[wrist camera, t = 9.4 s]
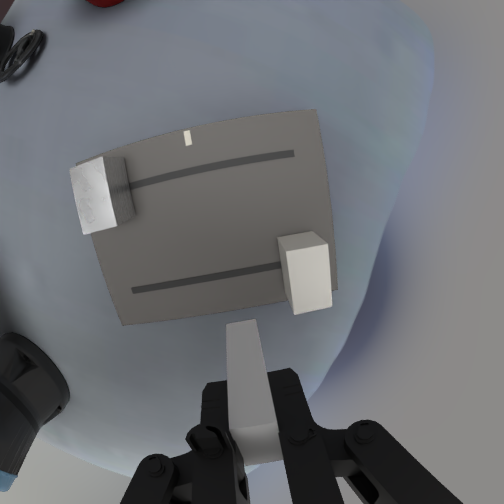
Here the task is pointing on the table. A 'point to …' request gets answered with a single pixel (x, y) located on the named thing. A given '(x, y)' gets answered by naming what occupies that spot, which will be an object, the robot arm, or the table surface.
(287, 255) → the fader
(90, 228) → the fader
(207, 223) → the slider panel
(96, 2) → the plastic cup
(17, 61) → the milk frother
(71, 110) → the table surface
